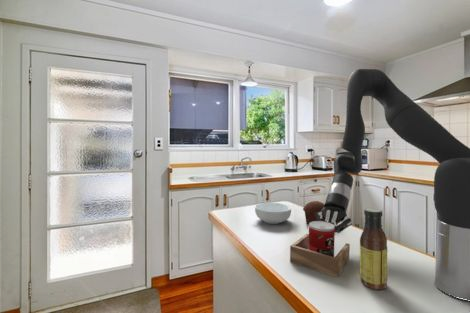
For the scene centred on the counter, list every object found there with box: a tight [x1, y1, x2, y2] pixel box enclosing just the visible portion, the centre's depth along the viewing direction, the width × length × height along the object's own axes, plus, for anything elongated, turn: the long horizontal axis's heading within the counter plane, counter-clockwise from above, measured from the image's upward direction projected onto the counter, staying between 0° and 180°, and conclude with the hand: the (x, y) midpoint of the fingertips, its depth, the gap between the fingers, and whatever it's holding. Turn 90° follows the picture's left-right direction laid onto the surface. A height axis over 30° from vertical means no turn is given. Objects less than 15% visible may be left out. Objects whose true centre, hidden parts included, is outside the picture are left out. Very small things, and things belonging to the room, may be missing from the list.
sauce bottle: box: [359, 207, 388, 291], centre depth 62 cm, size 6×6×20 cm
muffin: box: [302, 201, 325, 226], centre depth 109 cm, size 12×11×10 cm
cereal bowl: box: [254, 202, 292, 225], centre depth 113 cm, size 17×17×7 cm
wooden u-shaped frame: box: [289, 233, 351, 278], centre depth 75 cm, size 13×14×5 cm
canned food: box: [308, 221, 336, 257], centre depth 76 cm, size 8×8×11 cm
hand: (326, 241), depth 80 cm, fingers closed
